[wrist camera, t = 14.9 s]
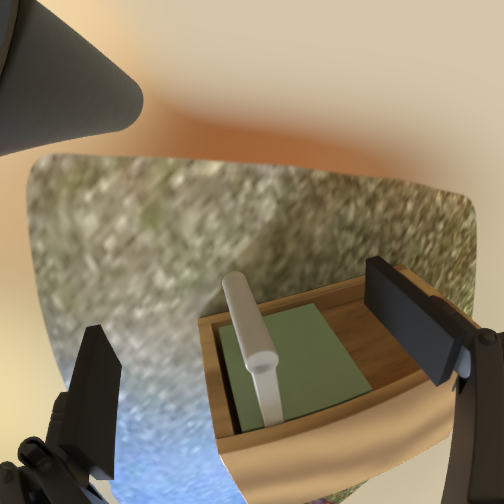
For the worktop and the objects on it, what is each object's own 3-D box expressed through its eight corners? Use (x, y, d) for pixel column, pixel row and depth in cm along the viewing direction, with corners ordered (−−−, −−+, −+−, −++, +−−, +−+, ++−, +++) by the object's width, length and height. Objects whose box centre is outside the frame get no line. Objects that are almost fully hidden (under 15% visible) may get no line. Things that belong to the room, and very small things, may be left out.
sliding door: (199, 258, 20) (217, 361, 12) (308, 233, 21) (387, 310, 13) (220, 335, 23) (245, 443, 14) (313, 310, 24) (374, 401, 15)
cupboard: (197, 318, 24) (217, 454, 13) (401, 263, 26) (495, 339, 15) (229, 412, 29) (254, 516, 18) (388, 360, 31) (448, 437, 20)
